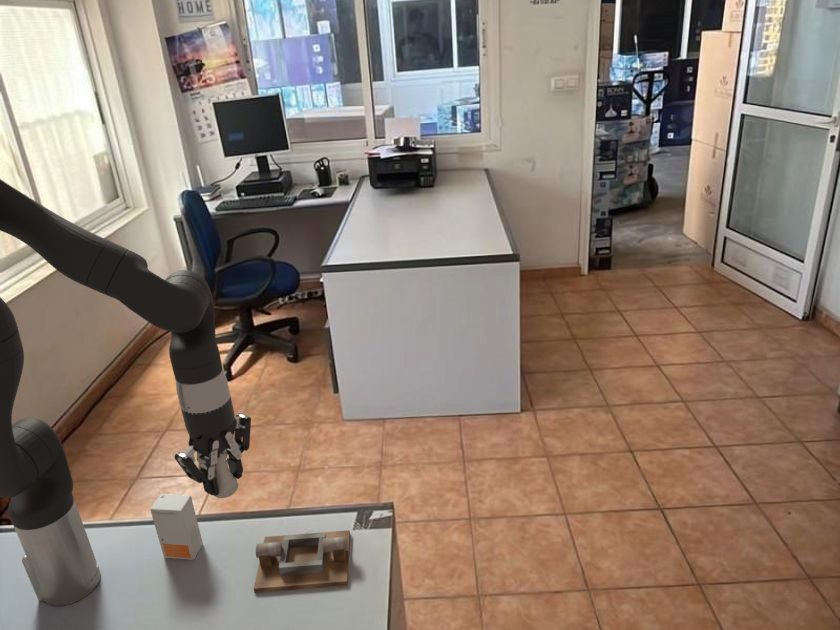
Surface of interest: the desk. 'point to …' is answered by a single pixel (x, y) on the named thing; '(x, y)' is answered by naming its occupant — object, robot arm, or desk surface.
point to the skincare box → (176, 526)
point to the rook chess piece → (224, 477)
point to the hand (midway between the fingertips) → (225, 484)
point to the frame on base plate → (303, 561)
